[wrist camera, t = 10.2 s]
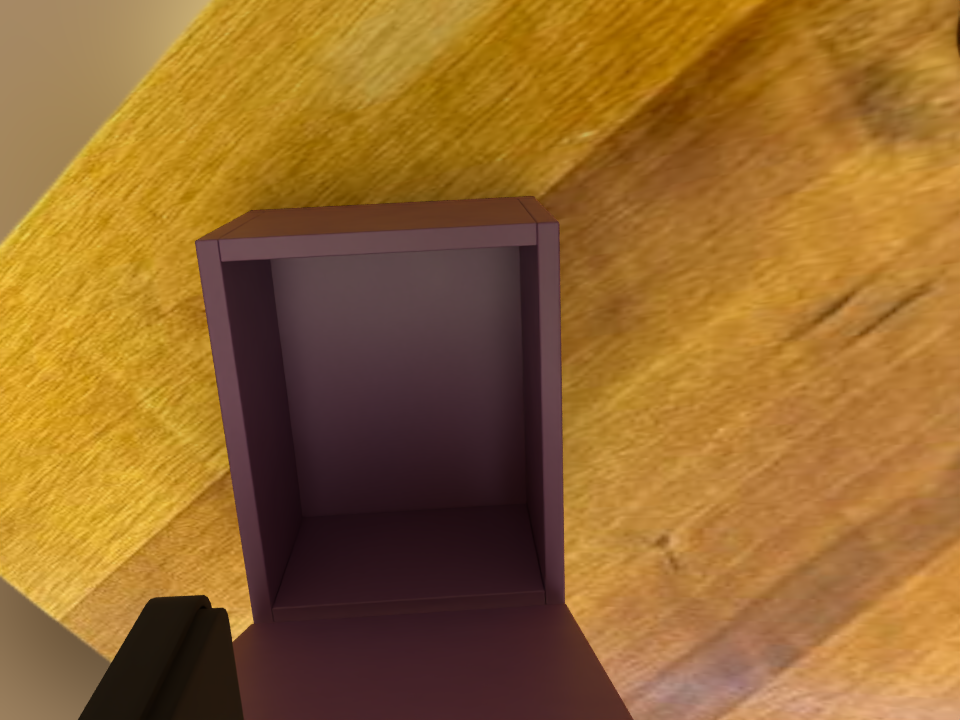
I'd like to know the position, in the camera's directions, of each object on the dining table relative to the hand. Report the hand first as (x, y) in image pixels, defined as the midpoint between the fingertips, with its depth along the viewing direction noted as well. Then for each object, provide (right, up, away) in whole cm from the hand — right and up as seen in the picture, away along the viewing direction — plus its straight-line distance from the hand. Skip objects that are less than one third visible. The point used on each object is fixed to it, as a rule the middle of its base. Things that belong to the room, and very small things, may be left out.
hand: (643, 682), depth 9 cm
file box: (-5, +3, +29) cm, 29 cm away
